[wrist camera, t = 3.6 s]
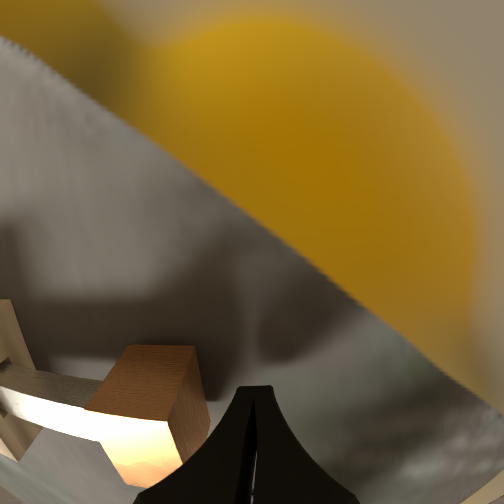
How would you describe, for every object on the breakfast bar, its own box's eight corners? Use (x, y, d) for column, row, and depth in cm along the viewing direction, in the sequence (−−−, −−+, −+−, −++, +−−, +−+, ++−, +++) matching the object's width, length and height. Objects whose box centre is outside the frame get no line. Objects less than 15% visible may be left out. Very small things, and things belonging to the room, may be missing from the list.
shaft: (194, 345, 12) (166, 422, 8) (210, 420, 13) (195, 494, 9) (-29, 326, 13) (-72, 356, 8) (-5, 383, 14) (-39, 417, 10)
